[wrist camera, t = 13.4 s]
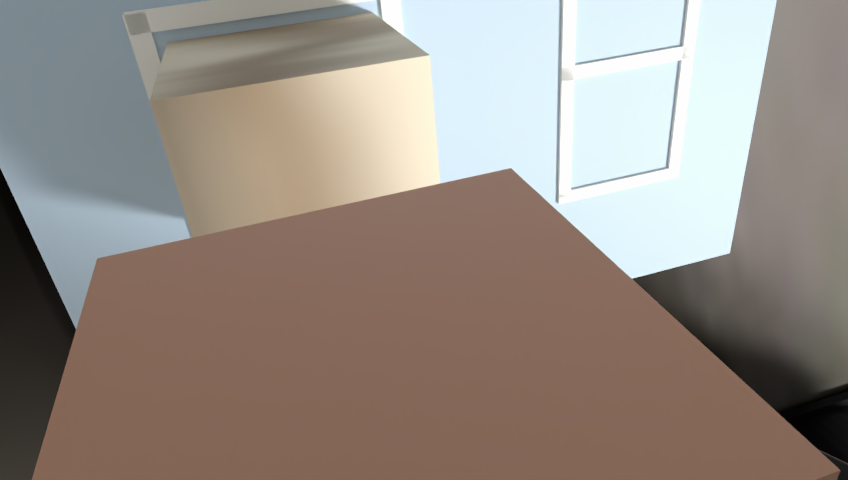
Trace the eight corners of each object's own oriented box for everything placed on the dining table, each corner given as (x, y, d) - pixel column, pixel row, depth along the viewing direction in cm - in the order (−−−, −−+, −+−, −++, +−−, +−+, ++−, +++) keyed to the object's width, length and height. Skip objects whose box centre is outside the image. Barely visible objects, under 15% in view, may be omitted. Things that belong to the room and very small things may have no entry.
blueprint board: (811, -287, 16) (834, -294, 16) (719, 245, 24) (731, 254, 24) (-172, -230, 12) (-193, -237, 11) (117, 399, 20) (114, 415, 19)
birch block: (372, 12, 16) (429, 55, 12) (394, 190, 18) (447, 277, 14) (167, 42, 15) (149, 101, 11) (220, 225, 17) (222, 332, 13)
